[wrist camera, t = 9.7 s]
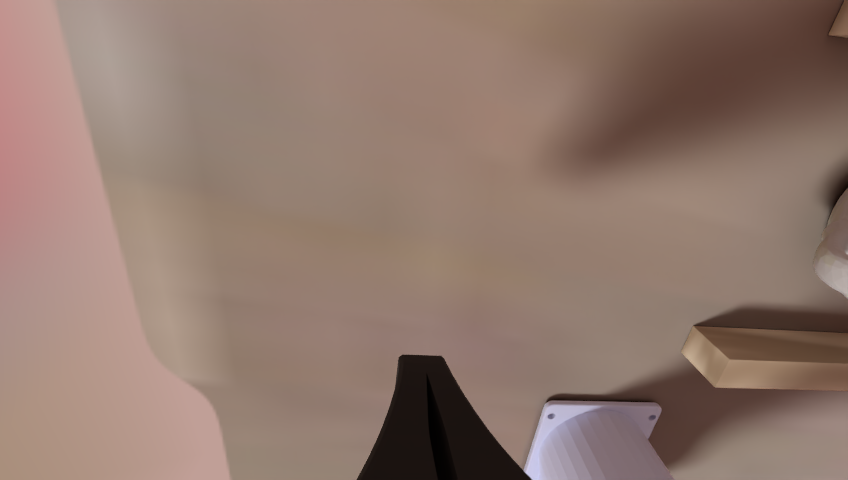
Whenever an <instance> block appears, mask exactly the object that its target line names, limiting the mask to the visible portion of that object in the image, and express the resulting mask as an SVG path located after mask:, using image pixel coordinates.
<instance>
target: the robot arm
mask: <svg viewBox="0 0 848 480" xmlns="http://www.w3.org/2000/svg"><path fill="white" fill-rule="evenodd" d="M661 411H662V409H661V407H660V406H659V404H657V403H654V402H604V401H554V400H553V401H549V402H547V403H546V404H545V405H544V408H543V411H542V414H541V417H540V420H539V424H538V427H537V430H536V433H535V436H534V439H533V443H532V446H531V449H530V452H529V455H528V458H527V462H526V465H525V468H524V471H523V470H522V469H521V468H520V467H519V465H518V464H517V463H516V462H515V461H514V460H513V459H512V458H511V457H510V456H509V454H508V453H507V452H506V451H505V450H504V449H503V448H502V446H501V445H500V444H499V443H498V441H497V440H496V439H495V438H494V436H493V435H492V434H491V433H490V431H489V430H488V429H487V427H486V426H485V425H484V423H483V422H482V421H481V419H480V418H479V416H478V415H477V413H476V412H475V410H474V409H473V407H472V406H471V404H470V403H469V401H468V400H467V398H466V397H465V395H464V394H463V392H462V390H461V389H460V387H459V385H458V384H457V382H456V380H455V378H454V377H453V375H452V373H451V371H450V369H449V367H448V366H447V364H446V362H445V360H444V358H443V357H442V356H427V355H402V356H400V357H399V359H398V368H397V377H396V385H395V391H394V394H393V398H392V401H391V404H390V407H389V410H388V413H387V416H386V418H385V421H384V424H383V426H382V429H381V431H380V434H379V436H378V438H377V440H376V443H375V445H374V447H373V449H372V451H371V453H370V455H369V457H368V459H367V461H366V463H365V465H364V467H363V469H362V471H361V473H360V475H359V476H358V478H357V480H674V478H673V477H672V475H671V474H670V472H669V471H668V469H667V468H666V466H665V465H664V463H663V462H662V460H661V459H660V457H659V456H658V454H657V453H656V451H655V450H654V448H653V447H652V445H651V444H650V442H649V441H648V439H649V437H650V435H651V432H652V430H653V428H654V426H655V424H656V422H657V420H658V418H659V416H660V413H661Z"/></svg>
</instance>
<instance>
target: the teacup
mask: <svg viewBox="0 0 848 480" xmlns="http://www.w3.org/2000/svg"><path fill="white" fill-rule="evenodd" d="M821 240H822V242H821V243H820V245H819V247H818V249H817V251H816V254H815V257H814V261H813V264H814V270H815V272H816V274H817V275H818V276H819V278H820V279H821V280H822V281H823V282H825V283H826V284H827V285H829V286H830V287H832V288H833V289H835V290H837V291H839V292H841V293H842V294H843V295H844V296H845V297H846V298H847V299H848V188H847V189H846V190H845V192H844V193H843V194H842V195H841V197H840V198H839V200H838V201H837V203H836V205H835V207H834V208H833V210H832V213H831V215H830V218H829V220H828V224H827V227H826V228H825V230H824V231H823V233H822V237H821Z"/></svg>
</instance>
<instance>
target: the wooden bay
mask: <svg viewBox="0 0 848 480" xmlns="http://www.w3.org/2000/svg"><path fill="white" fill-rule="evenodd" d="M828 35H830V36H836V37H843V38H848V0H844V2H843V4H842V6H841V8H840V11H839V13H838V15H837V17H836V19H835V21H834V24H833V26H832V28H831V30H830V32H829V34H828ZM681 353H682V354H683V355H684V356H685V357H686V358H687V359H688V360H689V361H690V362H691V363H692V364H693V365H694V366H695V367H696V368H697V369H698V370H699V371H700V372H701V374H702V375H703V376H704V377H705V378H706V379H707V380H708V381H709V382H710V383H711V384H712V385H713V386H714V387H715V388H753V389H792V390H831V391H848V333H834V332H812V331H791V330H769V329H747V328H725V327H703V326H693V327H692V330H691V332H690V334H689V336H688V338H687V340H686V343H685V345H684V347H683V349H682V351H681Z"/></svg>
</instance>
